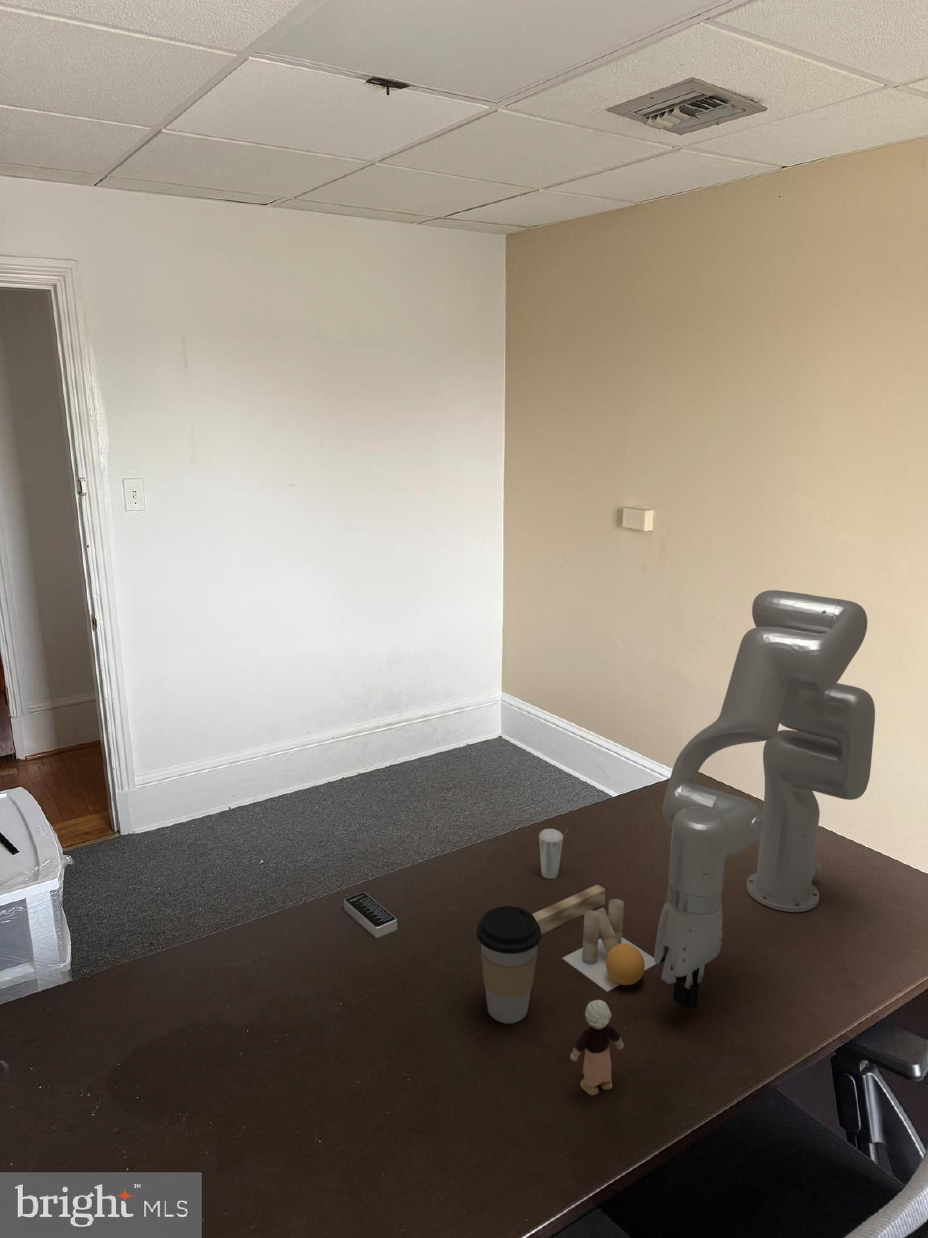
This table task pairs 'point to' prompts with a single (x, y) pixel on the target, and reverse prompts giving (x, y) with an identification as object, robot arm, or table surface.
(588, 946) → the left pin
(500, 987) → the coffee cup
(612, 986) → the pin deck mark
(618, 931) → the right pin
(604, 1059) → the grandmother figurine
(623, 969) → the ball
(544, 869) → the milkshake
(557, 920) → the back rail
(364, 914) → the multiport hub
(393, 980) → the table surface
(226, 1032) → the table surface
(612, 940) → the front pin
